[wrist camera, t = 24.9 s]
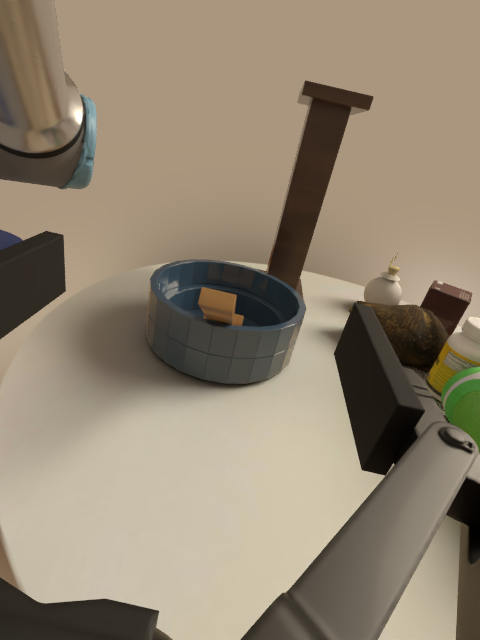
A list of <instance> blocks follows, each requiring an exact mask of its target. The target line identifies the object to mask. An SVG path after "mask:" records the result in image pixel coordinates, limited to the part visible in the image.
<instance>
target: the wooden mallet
mask: <svg viewBox="0 0 480 640" xmlns="http://www.w3.org/2000/svg"><path fill="white" fill-rule="evenodd" d="M198 305H199V306H200V308H201V310H202V311H203V313H204V317H203V318H205V319H208V320H211V321H214V322H218V323H224V324H229V325H235V326H242V323H243V319H244V316H242V315H237V314H235V306H236V295H234V294H230V293H226V292H221V291H217V290H213V289H209V288H204V287H202V289H201V293H200V297H199V301H198Z"/></svg>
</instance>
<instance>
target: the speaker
mask: <svg viewBox="0 0 480 640" xmlns="http://www.w3.org/2000/svg"><path fill="white" fill-rule="evenodd" d="M441 399H442V404H443V408H444V411H445V414H446V416H447V419H448V421H449V422H450V423H451V424H453V425H455V426H457V427H459V428H460V429H462V430H463V431H464V432H466V433H467V434H468V435H469V436H470V437H471V438H472V439H473V440H474V441H475V442H476V444H477V446H478V448H479V453H480V367H474V368H469V369H466V370H463V371H461V372H459V373H457V374H455V375H454V376H453V377H451V378H450V379H449V380H448V381H447V382H446V384H445V385H444V387H443V389H442V393H441Z"/></svg>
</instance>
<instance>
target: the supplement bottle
mask: <svg viewBox="0 0 480 640" xmlns="http://www.w3.org/2000/svg"><path fill="white" fill-rule="evenodd" d="M462 331H463V332H457V333H454V334H452V335H451V336H450V337H449V338H448V340H447V341H446V343H445V345H444V347H443V349H442V351H441V352H440V354H439V356H438V358H437V359H436V361H435V363H434V365H433V367H432V368H431V370H430V372H429V374H428V376H427V377H426V379H425V384H426V386H427V388H428V391H430V393H431V395H432V396H433V397H435V398H436V399H437V400H439V401H441V402H442V399H441V393H442V389H443V387H444V385H445V384H446V382H447V381H448V380H449V379H450V378H451V377H453V376H454V375H455V374H457V373H459V372H461V371H463V370H466V369H469V368H474V367H480V318H476V317H469V318H468V319H467V320H466V322H465V323H464V325H463V327H462Z"/></svg>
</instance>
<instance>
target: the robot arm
mask: <svg viewBox="0 0 480 640" xmlns="http://www.w3.org/2000/svg"><path fill="white" fill-rule="evenodd" d="M96 124H97V118H96V108H95V104H94V102H93V101H92V100H91V99H90V98H88V97H85V96H84V95H82V94H80V93H79V91H78V89H77V87H76V85H75V84H74V82H73V81H72V80H71V78H70V77H69V76H68V74H67V73H66V72H65V71H64V67H63V61H62V52H61V46H60V38H59V30H58V23H57V15H56V8H55V1H54V0H0V179H3V180H11V181H18V182H25V183H32V184H40V185H47V186H54V187H58V188H59V189H66V188H73V189H83V188H85V187H87V186H88V185H89V183H90V181H91V178H92V173H93V166H94V155H95V148H96V147H95V146H96V126H97V125H96ZM65 291H66V289H65V264H64V239H63V235H61V234H57V233H52V232H48V231H45V232H43V233H40V234H38V235H36V236H33V237H31V238H29V239H26V240H24V241H21V242H19V243H17V244H14V245H12V246H9V247H7V248H5V249H2V250H0V339H1V338H3V337H4V336H5V335H7V334H8V333H9V332H11V331H12V330H13V329H15V328H16V327H18V326H19V325H20V324H21V323H23V322H24V321H26V320H27V319H29V318H30V317H31V316H33V315H34V314H35V313H37V312H38V311H39V310H41V309H42V308H43V307H45V306H46V305H47V304H49V303H50V302H51V301H53V300H54V299H56V298H57V297H58V296H60V295H61V294H62V293H64V292H65ZM334 355H335V360H336V364H337V368H338V372H339V376H340V381H341V385H342V389H343V393H344V397H345V402H346V406H347V410H348V414H349V418H350V423H351V427H352V431H353V435H354V439H355V444H356V448H357V452H358V456H359V460H360V465H361V469H362V470H364V471H368V472H373V473H377V474H381V475H386V474H387V472H388V471H389V469H390V468H391V466H392V464H393V463H394V465H395V466H394V467H393V468H392V469H391V470H390V471H389V473H388V474H387V475H386V476H385V477H384V479H383V480H382V481H381V482H380V483H379V484H378V486H377V487H376V488H375V489H374V490H373V492H372V493H371V494H370V495H369V496H368V497H367V499H366V500H365V501H364V502H363V503H362V504H361V506H360V507H359V508H358V509H357V510H356V512H355V513H354V514H353V515H352V516H351V517H350V519H349V520H348V521H347V522H346V523H345V525H344V526H343V527H342V528H341V529H340V530H339V532H338V533H337V534H336V535H335V536H334V538H333V539H332V540H331V541H330V542H329V543H328V545H327V546H326V547H325V548H324V549H323V550H322V552H321V553H320V554H319V555H318V556H317V558H316V559H315V560H314V561H313V562H312V563H311V565H310V566H309V567H308V568H307V569H306V571H305V572H304V573H303V574H302V575H301V576H300V578H299V579H298V580H297V581H296V582H295V583H294V585H293V586H292V587H291V588H290V589H289V590H288V591H287V592H286V593H282V594H281V595H280V596H279V597H278V598H277V599H276V600H275V601H274V602H273V603H272V604H271V605H270V606H269V607H268V608H267V610H266V611H265V612H264V613H263V614H262V615H261V617H260V618H259V619H258V620H257V621H256V622H255V624H254V625H253V626H252V627H251V628H250V629H249V631H248V632H247V633H246V634H245V635H244V636H243V637H242V639H241V640H378V638H379V636H380V634H381V633H382V631H383V629H384V627H385V625H386V623H387V622H388V620H389V618H390V616H391V614H392V612H393V611H394V609H395V607H396V605H397V603H398V601H399V600H400V598H401V596H402V594H403V592H404V590H405V588H406V587H407V585H408V583H409V581H410V579H411V577H412V576H413V574H414V572H415V570H416V568H417V566H418V565H419V563H420V561H421V559H422V557H423V555H424V554H425V552H426V550H427V548H428V546H429V544H430V543H431V541H432V539H433V537H434V535H435V533H436V531H437V530H438V528H439V526H440V524H441V522H442V520H443V519H444V517H445V515H447V516H449V517H451V518H453V519H455V520H457V521H459V522H461V535H460V558H459V581H458V604H457V626H456V640H480V453H479V448H478V446H477V444H476V442H475V441H474V440H473V439H472V438H471V437H470V436H469V435H468V434H467V433H466V432H464V431H463V430H462V429H460V428H459V427H457V426H455V425H453V424H451V423H447V421H446V419H445V417H444V416H443V414H442V412H441V410H440V409H439V407H438V405H437V403H436V402H435V400H434V399H432V398H433V396H432V395H431V393H430V391H428V388H427V386H426V384H425V383H424V381H423V379H422V378H421V377H420V376H419V375H418V374H417V373H416V372H415V371H414V370H413V369H409V368H405V367H402V365H401V363H400V361H399V359H398V357H397V355H396V353H395V351H394V349H393V347H392V345H391V343H390V341H389V340H388V338H387V336H386V334H385V332H384V330H383V328H382V326H381V324H380V322H379V320H378V318H377V316H376V314H375V312H374V311H373V309H372V307H371V306H367V305H362V304H358V303H354V305H353V308H352V310H351V313H350V315H349V318H348V320H347V323H346V325H345V327H344V330H343V332H342V335H341V337H340V340H339V342H338V345H337V347H336V350H335V352H334ZM158 614H159V611H157V610H153V609H149V608H144V607H140V606H135V605H131V604H126V603H122V602H118V601H113V600H109V599H97V600H85V601H72V602H60V603H48V604H44V603H39V602H37V601H35V600H34V599H32V598H31V597H29V596H28V595H26V594H24V593H23V592H21V591H20V590H18V589H17V588H15V587H14V586H12V585H11V584H9V583H8V582H6V581H5V580H3V579H2V578H0V640H172V639H171V638H170V637H169V636H168V635H166V634H165V633H163V632H162V631H160V630H159V629H157V628H156V624H157V619H158Z"/></svg>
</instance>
